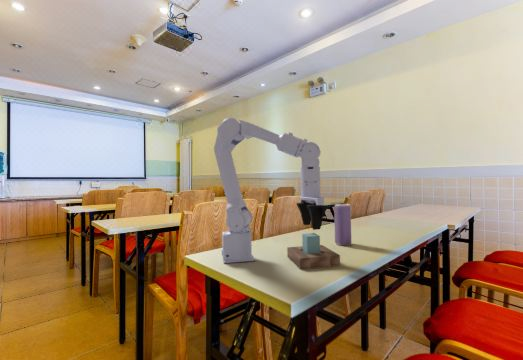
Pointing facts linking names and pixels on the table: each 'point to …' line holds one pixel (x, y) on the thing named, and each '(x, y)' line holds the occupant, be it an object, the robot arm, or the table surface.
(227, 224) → the robot arm
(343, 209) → the beverage can
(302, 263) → the well block
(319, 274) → the table surface
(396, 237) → the table surface
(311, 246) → the bracket post
